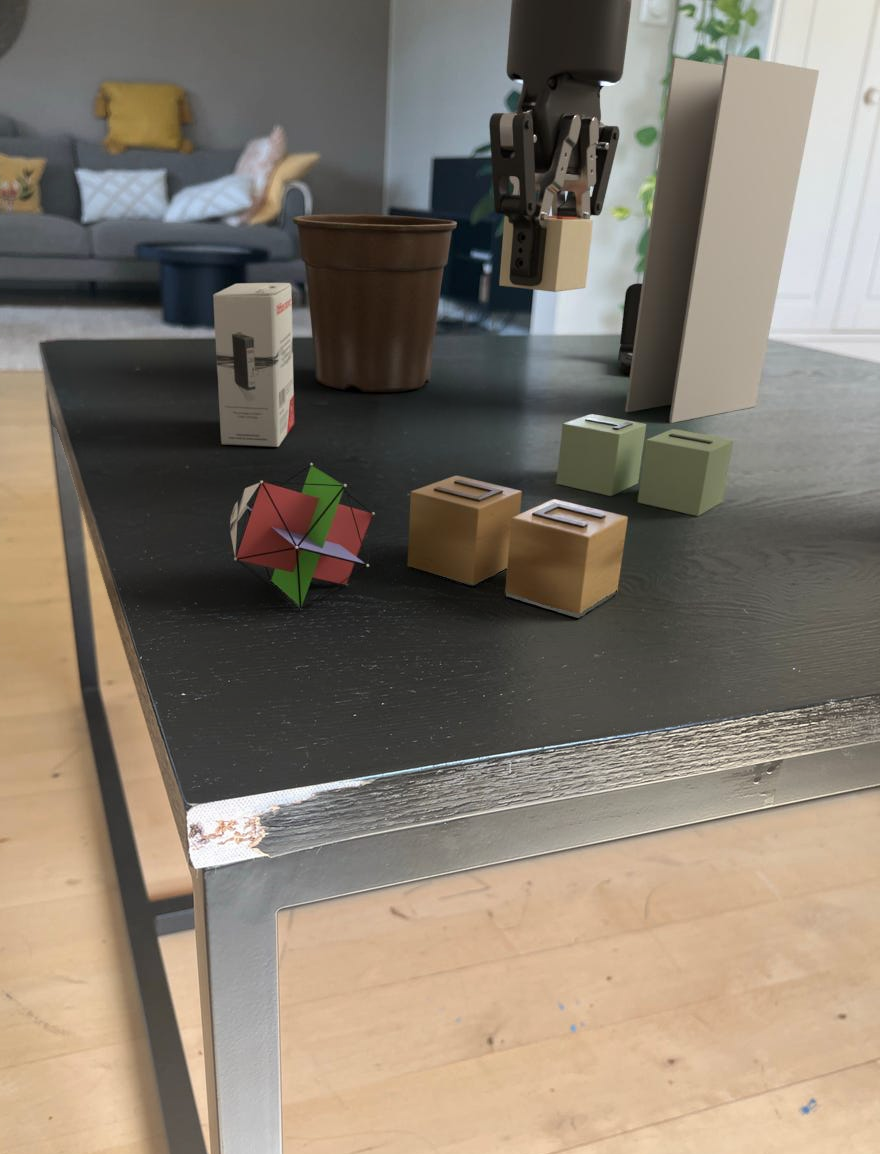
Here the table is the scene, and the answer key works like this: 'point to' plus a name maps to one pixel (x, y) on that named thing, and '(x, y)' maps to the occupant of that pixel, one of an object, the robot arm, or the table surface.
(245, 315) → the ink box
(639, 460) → the green cube
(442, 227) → the plant pot
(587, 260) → the cream letter block
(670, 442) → the letter i
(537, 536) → the letter u
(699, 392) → the brochure
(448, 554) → the tan cube
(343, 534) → the geometric puzzle
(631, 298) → the game console
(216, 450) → the table surface
